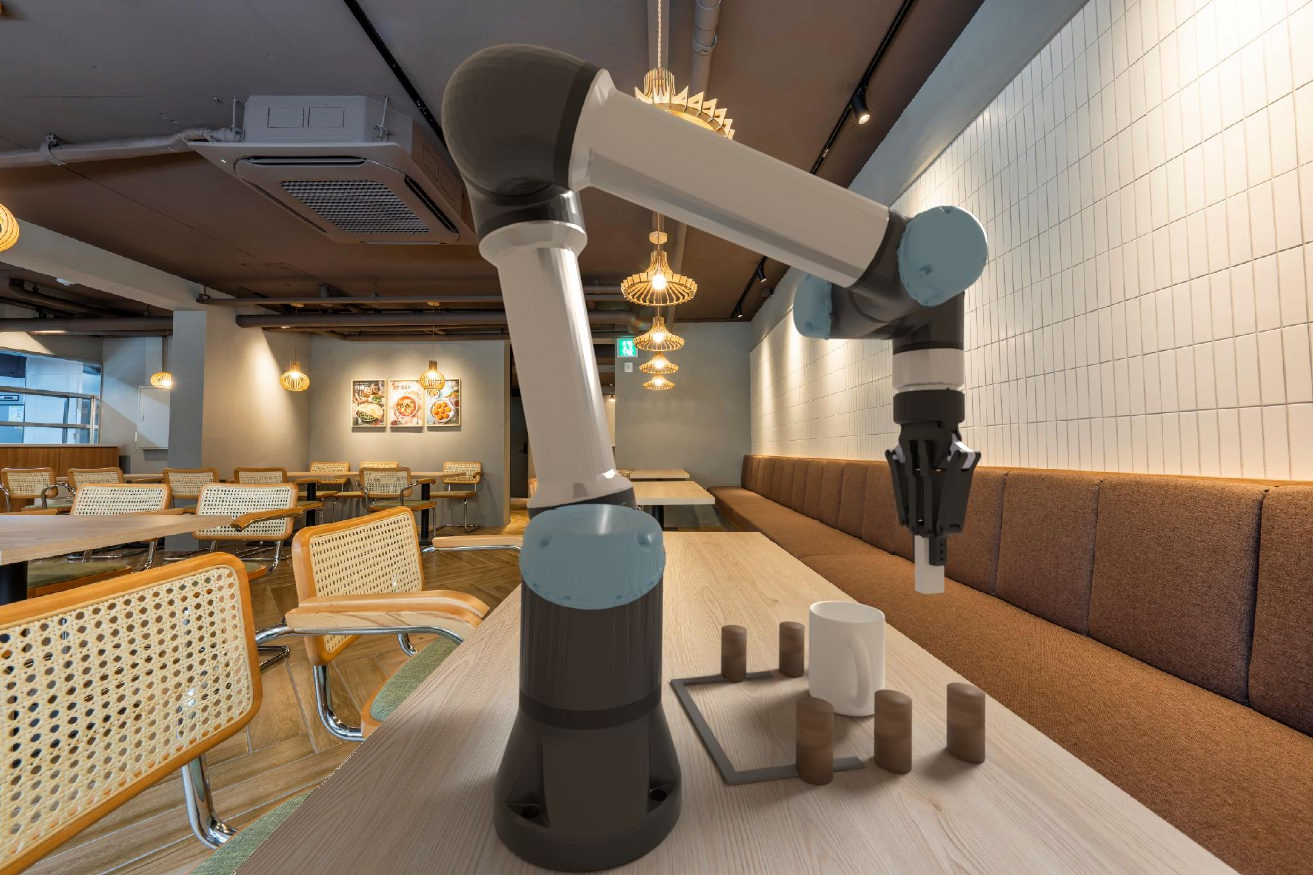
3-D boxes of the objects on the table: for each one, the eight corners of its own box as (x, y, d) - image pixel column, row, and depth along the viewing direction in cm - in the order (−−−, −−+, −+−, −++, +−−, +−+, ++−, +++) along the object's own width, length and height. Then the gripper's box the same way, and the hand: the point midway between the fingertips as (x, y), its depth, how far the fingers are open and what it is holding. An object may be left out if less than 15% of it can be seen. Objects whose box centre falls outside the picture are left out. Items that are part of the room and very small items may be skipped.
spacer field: (806, 786, 45) (807, 716, 45) (717, 672, 67) (717, 625, 68) (993, 760, 49) (993, 696, 49) (850, 661, 72) (850, 617, 72)
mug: (907, 741, 52) (907, 637, 52) (822, 734, 53) (822, 632, 53) (872, 686, 64) (872, 602, 64) (803, 682, 65) (804, 599, 65)
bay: (728, 785, 45) (728, 781, 45) (670, 681, 65) (670, 679, 65) (864, 767, 48) (864, 763, 48) (769, 673, 67) (769, 670, 67)
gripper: (1001, 385, 56) (1004, 606, 56) (916, 396, 69) (918, 576, 68) (942, 383, 54) (944, 610, 54) (865, 395, 67) (867, 579, 67)
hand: (929, 591), depth 61 cm, fingers closed
